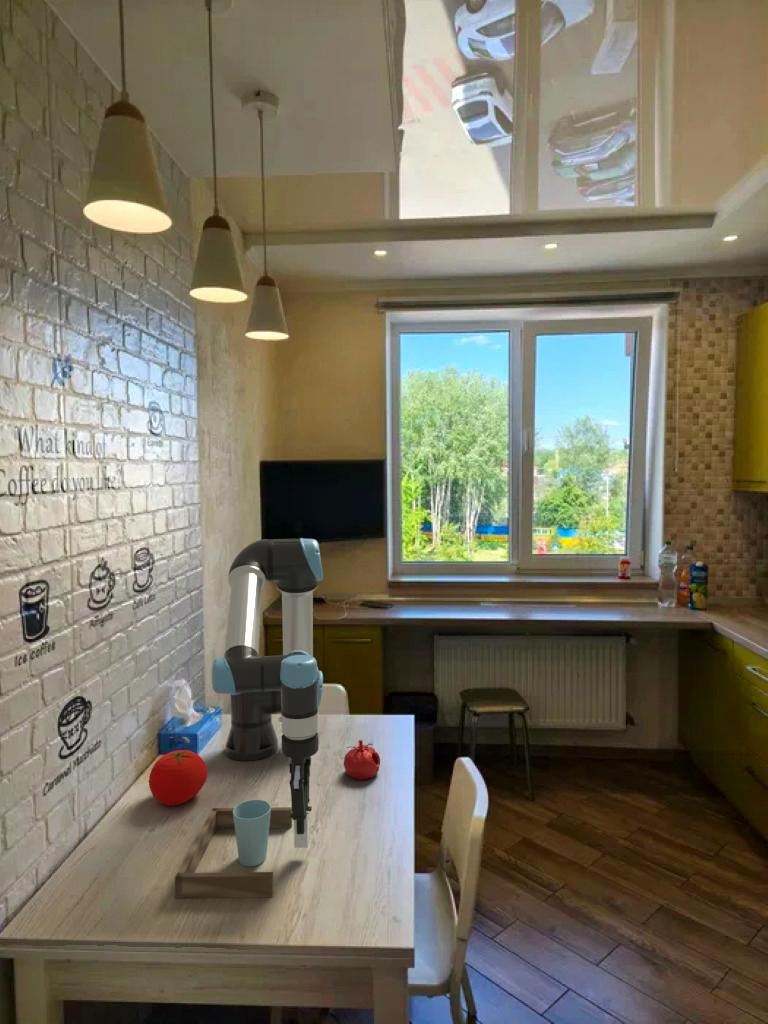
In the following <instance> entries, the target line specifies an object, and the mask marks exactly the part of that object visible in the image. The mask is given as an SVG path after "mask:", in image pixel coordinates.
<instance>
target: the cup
mask: <svg viewBox="0 0 768 1024" xmlns="http://www.w3.org/2000/svg"><path fill="white" fill-rule="evenodd" d="M233 808H234V809H233V817H234V825H235V828H234V832H235V838H236V839H235V840H236V846H237V855H238V862H239V863H240V864H241V865H242V866H245V867H256V866H259V865H260V864H263V863H264V861H265V860H266V858H267V854H268V844H269V834H270V833H269V832H270V828H269V824H270V814H271V808H272V805H271V804H270V802H268V801H267V800H265V799H257V798H256V799H254V798H253V799H249V800H245V801H242V802H240V803H238V804H237V805H235V807H233Z"/></svg>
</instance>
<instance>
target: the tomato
mask: <svg viewBox="0 0 768 1024" xmlns="http://www.w3.org/2000/svg"><path fill="white" fill-rule="evenodd" d="M208 769H209V768H208V766H207V764H206V762H205V760H204V759H203V758H202V757H201V756H200V755H199V754H198V753H196V752H193V751H192V750H188V749H185V750H184V749H180V750H178V749H177V750H174V751H171V752H168V753H165V754H164V755H163V756H161V757H160V758H158V759H157V760H156V762H155V763H154V764H153V767H152V768H151V770H150V772H149V778H148V785H149V790H150V792H151V794H152V797H154V798H155V800H157V802H159V803H161V804H162V805H165V806H169V807H170V806H171V807H172V806H174V807H175V806H178V805H181V804H184V803H186V802H188V801H189V800H191V799H192V798H194V797H195V796H197V794H199V792H200V791H201V790H202V789H203V787H204V785H205V783H206V781H207V779H208V774H209V770H208Z"/></svg>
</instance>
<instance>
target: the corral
mask: <svg viewBox="0 0 768 1024" xmlns="http://www.w3.org/2000/svg"><path fill="white" fill-rule="evenodd" d="M234 808H235V807H221V808H220V807H218V808H217V807H212V809H211V811H210V812H209V813H208V816H207V818H206V820H205V821H204V824H203V825H202V827H201V829H200V831H199V832H198V834H197V836H196V838H195V839H194V841H193V843H192V846H191V847H190V848H189V851H188V852H187V855H186V856H185V858H184V860H183V861H182V864H181V866H180V867H179V868H178V871H177V873H176V874H175V876H174V886H175V887H174V891H175V893H174V894H175V899H212V898H213V899H215V898H216V899H217V898H218V899H220V898H221V899H222V898H223V899H225V898H226V899H227V898H228V899H231V898H233V899H235V898H237V899H238V898H273V896H274V871H248V872H247V871H238V872H237V871H234V872H228V871H227V872H196V871H197V869H198V867H199V866H200V863H201V861H202V859H203V857H204V855H205V853H206V851H207V848H208V847H209V845H210V843H211V841H212V839H213V838H214V835H215V833H216V831H217V829H235V825H234V817H233V809H234ZM291 813H292V806H290V807H289V806H286V807H282V806H281V807H280V806H279V807H271V814H270V824H269V829H272V828H273V829H285V828H286V829H287V828H291V829H292V827H293V819H292V818H290V816H291Z"/></svg>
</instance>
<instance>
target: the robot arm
mask: <svg viewBox="0 0 768 1024" xmlns="http://www.w3.org/2000/svg"><path fill="white" fill-rule="evenodd" d="M227 576H228V577H227V584H228V585H229V587H230V596H229V597H230V598H229V605H228V606H229V607H228V616H227V627H226V636H225V644H224V645H225V647H224V655H223V657H221V658H216V659H214V661H213V663H212V670H211V671H212V672H211V685H212V690H213V692H214V693H216V694H222V695H223V694H225V695H230V708H231V709H230V721H231V722H230V728H229V732H228V736H227V739H226V741H225V756H227V758H230V759H232V760H235V761H243V762H244V761H245V762H248V761H257V760H261V759H265V758H268V757H270V756H272V755H273V754H275V753H277V751H278V749H279V740H278V736H277V733H276V731H275V728H274V725H273V721H272V719H273V718H272V715H277V714H278V715H280V714H281V716H279V717H278V720H277V721H278V722H279V723H280V722H281V733H282V734H281V753H282V755H284V756H285V757H286V758H290V759H291V763H289V774H290V780H289V786H290V787H289V788H290V799H291V800H290V801H291V807H292V813H291V816H290V818H292V821H293V824H294V825H293V831H294V833H293V834H294V837H293V839H294V840H293V841H294V848H297V849H298V848H299V849H300V848H301V849H302V848H303V849H304V848H306V849H307V848H308V847H309V838H310V837H309V812H311V811H312V809H313V807H312V806H311V805H310V806H309V804H310V776H311V765H312V756H314V755H316V754H317V753H318V752H319V733H318V731H319V707H321V702H322V697H323V685H324V675H323V671H321V670H319V667H318V661H317V660H316V659H317V658H315V657H314V652H313V651H314V638H313V637H314V630H313V629H314V628H313V627H314V625H313V623H314V619H313V617H314V615H313V614H314V611H313V609H314V608H313V607H314V599H313V598H314V597H313V596H314V591H315V590H317V588H318V586H319V582H320V581H323V580H324V572H323V566H322V558H321V550H320V544H319V542H318V540H316V539H314V538H303V537H300V538H277V539H275V538H274V539H268V538H267V539H265V538H264V539H260V540H256V541H254V542H251V543H250V544H248V545H247V546H245V547H244V548H243V549H242V550H241V551H240V552H239V553H238V554H237V555H236V556H235V558H234V560H233V561H232V563H231V565H230V567H229V571H228V575H227ZM268 582H269V583H276V589H277V590H278V591H280V592H281V613H282V615H281V616H282V617H281V618H282V620H281V621H282V654H279V655H267V656H264V655H263V656H259V653H260V652H259V650H260V649H259V648H260V626H261V625H260V624H261V623H260V622H261V604H262V602H261V601H262V589H263V588H264V587H265V584H266V583H268Z"/></svg>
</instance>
